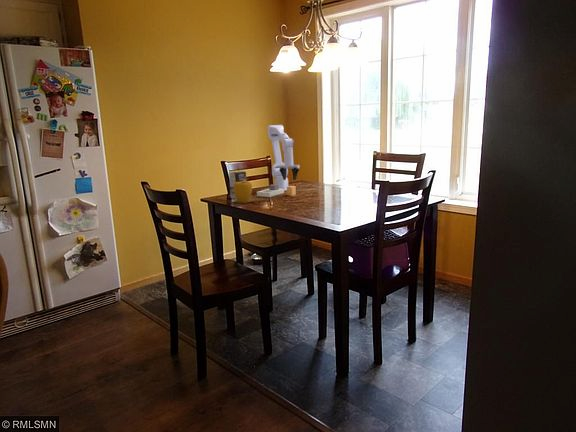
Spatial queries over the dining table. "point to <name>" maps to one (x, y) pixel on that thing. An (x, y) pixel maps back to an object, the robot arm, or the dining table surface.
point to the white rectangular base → (270, 191)
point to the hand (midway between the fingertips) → (289, 179)
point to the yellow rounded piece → (243, 191)
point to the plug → (291, 190)
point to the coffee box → (236, 180)
